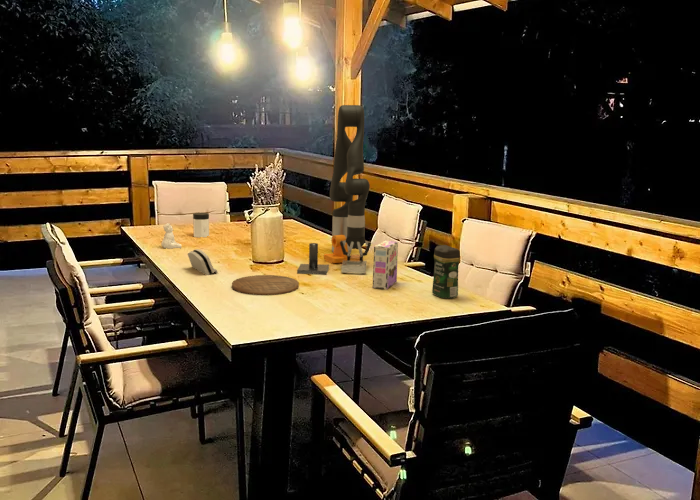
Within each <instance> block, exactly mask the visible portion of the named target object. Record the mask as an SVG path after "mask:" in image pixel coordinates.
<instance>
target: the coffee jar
mask: <svg viewBox="0 0 700 500" xmlns="http://www.w3.org/2000/svg"><path fill="white" fill-rule="evenodd" d="M433 260H434V268H433V278H432V289H431V291H432V294H433V295H435V296H437V297H439V298H441V299H448V300H449V299H454V298H457V297H458V296H459V264H460V261H461V250H459V249H458V248H455V247H452V246H450V245H447V244H442V245H441V244H440V245H436V247H435V248H434V253H433Z"/></svg>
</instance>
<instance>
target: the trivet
mask: <svg viewBox="0 0 700 500" xmlns="http://www.w3.org/2000/svg"><path fill="white" fill-rule="evenodd" d="M299 286H300V282H299V281H298V280H297V279H295V278H292V277H289V276H285V275H273V274H262V275H261V274H260V275H257V274H256V275H249V276H243V277H239V278H236V279H234V280H232V283H231V288H232V290H233V291H235V292H238V293H241V294H246V295H250V296H251V295H253V296H275V295H276V296H279V295H285V294H289V293H292V292H295V291H297V290H298V289H299Z"/></svg>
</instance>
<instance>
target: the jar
mask: <svg viewBox="0 0 700 500" xmlns="http://www.w3.org/2000/svg"><path fill="white" fill-rule="evenodd" d="M209 214H210V213H209V212H194V213H192V219H193V223H192V224H193V226H192V227H193V228H192V229H193V237H194V238H200V237H203V238H208V237H207V236H209V237H210V215H209Z"/></svg>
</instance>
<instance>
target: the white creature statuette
mask: <svg viewBox="0 0 700 500" xmlns="http://www.w3.org/2000/svg"><path fill="white" fill-rule="evenodd" d="M163 231H164V232H165V234H164V235H163V236H164V237H163V238H162V241H161V247H162V248H164V249H166V248H167V249H171V250H173V248H180V249H182V244H181V243H179V242H177V241H176V240H175V235H174V232H173V231H174V229H173V226H172V225H171V223H169V222H167V223H165V224H163Z"/></svg>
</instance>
